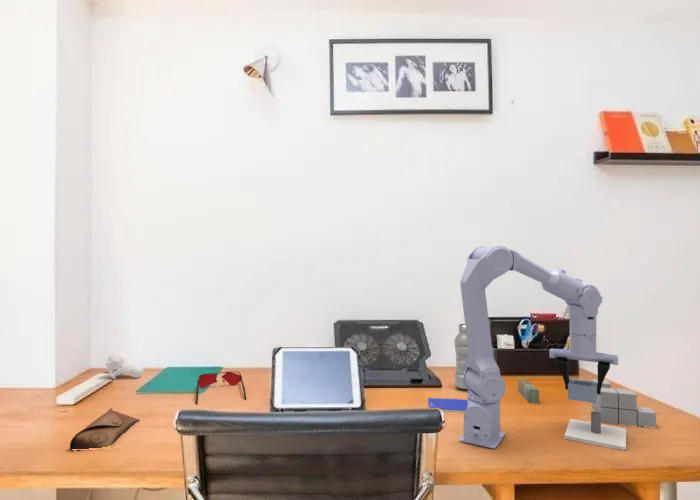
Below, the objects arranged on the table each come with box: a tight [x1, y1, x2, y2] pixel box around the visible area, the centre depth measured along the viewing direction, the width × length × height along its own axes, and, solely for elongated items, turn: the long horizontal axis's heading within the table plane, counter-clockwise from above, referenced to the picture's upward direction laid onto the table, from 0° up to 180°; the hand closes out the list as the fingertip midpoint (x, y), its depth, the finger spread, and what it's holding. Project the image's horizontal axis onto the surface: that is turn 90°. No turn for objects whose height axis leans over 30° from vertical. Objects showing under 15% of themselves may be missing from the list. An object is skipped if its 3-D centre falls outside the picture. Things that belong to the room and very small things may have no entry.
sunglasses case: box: [69, 407, 141, 451], centre depth 105 cm, size 18×7×7 cm
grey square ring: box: [567, 377, 598, 404], centre depth 107 cm, size 6×6×4 cm
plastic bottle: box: [453, 323, 469, 390], centre depth 140 cm, size 6×7×20 cm
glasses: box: [195, 371, 247, 405], centre depth 135 cm, size 14×16×5 cm
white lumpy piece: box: [105, 351, 145, 380], centre depth 152 cm, size 6×8×12 cm
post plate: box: [564, 410, 627, 451], centre depth 104 cm, size 12×12×5 cm
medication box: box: [517, 378, 540, 405], centre depth 132 cm, size 12×3×4 cm, turn 175°
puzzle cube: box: [591, 378, 657, 428], centre depth 116 cm, size 12×12×8 cm
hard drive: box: [427, 397, 467, 413], centre depth 124 cm, size 2×8×12 cm
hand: (582, 390), depth 107 cm, fingers closed on grey square ring, 6 cm apart
